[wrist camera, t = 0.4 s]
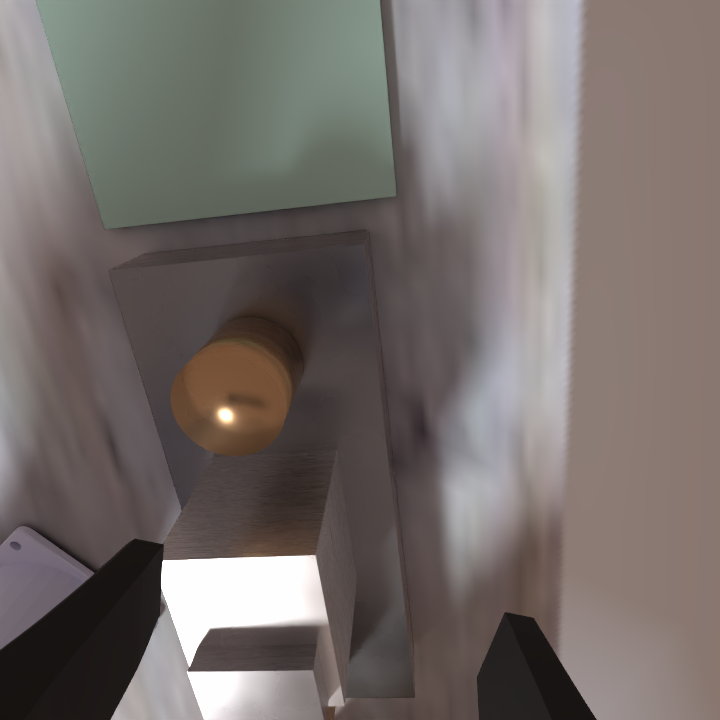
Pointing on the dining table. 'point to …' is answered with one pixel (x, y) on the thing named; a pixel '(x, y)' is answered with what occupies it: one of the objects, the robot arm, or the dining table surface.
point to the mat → (224, 104)
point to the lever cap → (264, 586)
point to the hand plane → (282, 397)
